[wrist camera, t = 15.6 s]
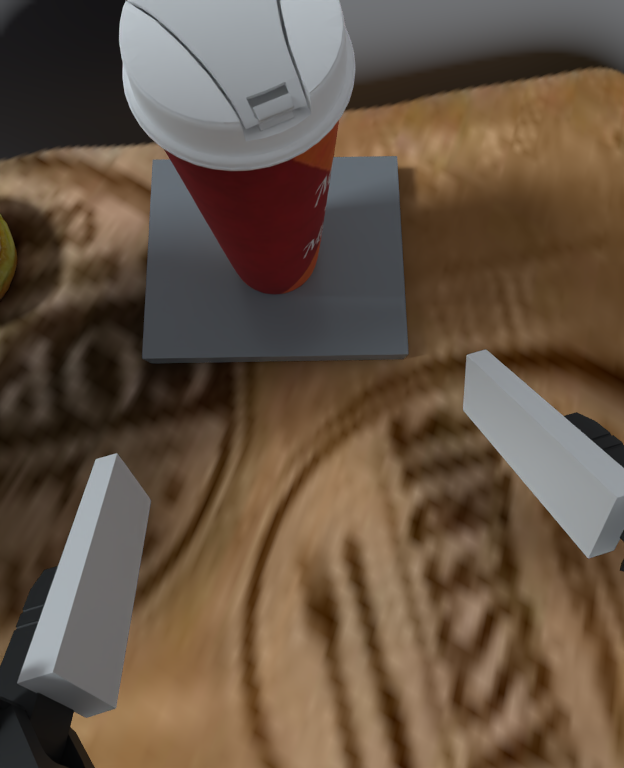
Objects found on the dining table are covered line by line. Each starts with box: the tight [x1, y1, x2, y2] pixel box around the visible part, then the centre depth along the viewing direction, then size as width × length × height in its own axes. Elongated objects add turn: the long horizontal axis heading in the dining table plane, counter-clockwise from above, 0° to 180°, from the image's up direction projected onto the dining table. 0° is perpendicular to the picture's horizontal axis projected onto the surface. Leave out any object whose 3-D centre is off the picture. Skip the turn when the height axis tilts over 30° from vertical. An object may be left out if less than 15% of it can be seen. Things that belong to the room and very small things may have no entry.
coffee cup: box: [119, 0, 355, 294], centre depth 20 cm, size 8×8×15 cm
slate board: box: [142, 156, 408, 363], centre depth 28 cm, size 18×15×2 cm
